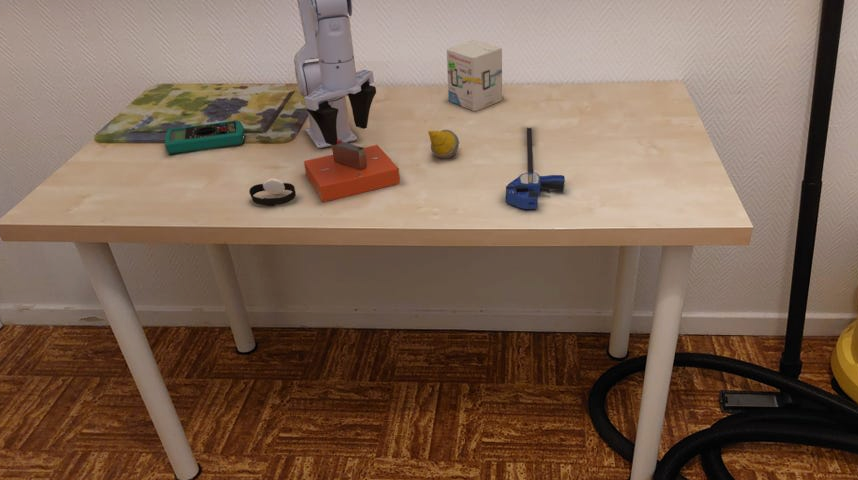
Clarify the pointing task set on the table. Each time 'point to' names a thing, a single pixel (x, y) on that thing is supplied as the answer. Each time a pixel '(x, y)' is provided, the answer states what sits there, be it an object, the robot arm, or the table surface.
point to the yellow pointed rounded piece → (443, 143)
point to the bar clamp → (531, 183)
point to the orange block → (351, 175)
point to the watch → (273, 192)
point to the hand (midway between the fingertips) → (346, 135)
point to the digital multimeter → (204, 137)
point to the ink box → (474, 75)
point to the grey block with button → (349, 155)
